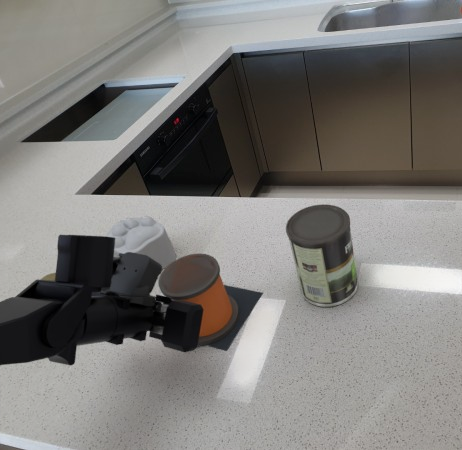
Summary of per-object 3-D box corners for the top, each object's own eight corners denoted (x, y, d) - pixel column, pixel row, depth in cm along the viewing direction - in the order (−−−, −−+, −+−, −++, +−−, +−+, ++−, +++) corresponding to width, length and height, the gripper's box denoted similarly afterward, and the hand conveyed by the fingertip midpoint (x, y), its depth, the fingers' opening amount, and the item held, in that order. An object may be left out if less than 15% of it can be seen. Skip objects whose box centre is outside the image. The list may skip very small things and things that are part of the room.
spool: (199, 357, 73) (177, 310, 67) (165, 323, 80) (142, 279, 74) (252, 315, 79) (236, 268, 72) (215, 287, 86) (198, 242, 79)
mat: (226, 350, 74) (226, 350, 74) (162, 333, 79) (162, 333, 79) (262, 293, 83) (262, 292, 82) (203, 281, 88) (203, 280, 88)
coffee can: (355, 262, 85) (347, 200, 76) (360, 304, 77) (352, 239, 68) (300, 269, 86) (286, 208, 77) (300, 310, 78) (284, 247, 69)
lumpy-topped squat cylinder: (141, 286, 90) (123, 252, 85) (108, 263, 98) (90, 231, 92) (182, 255, 95) (168, 222, 90) (148, 235, 103) (133, 204, 98)
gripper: (170, 266, 54) (238, 269, 68) (60, 245, 62) (142, 251, 76) (154, 361, 54) (226, 344, 68) (45, 327, 61) (130, 319, 75)
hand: (179, 311), depth 72 cm, fingers closed
